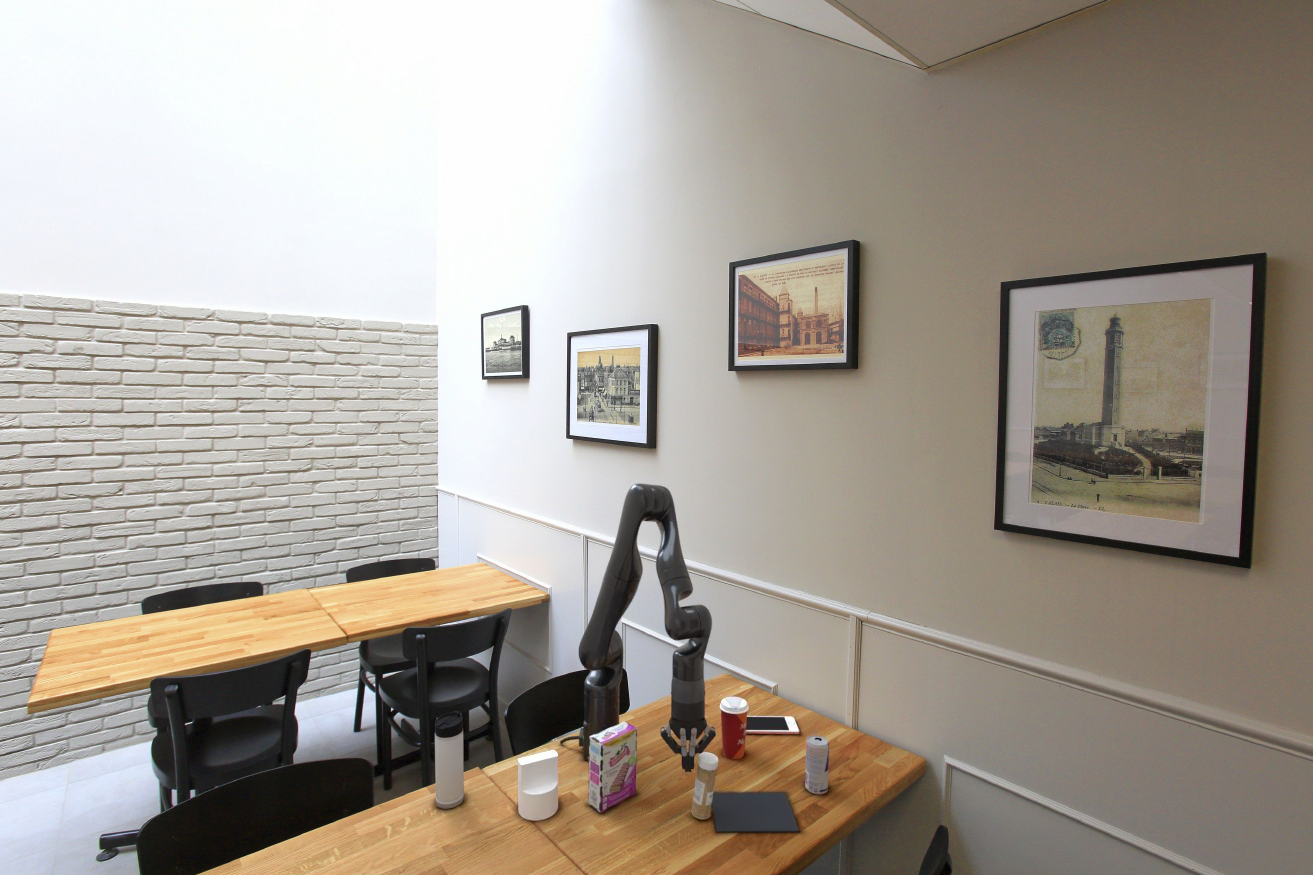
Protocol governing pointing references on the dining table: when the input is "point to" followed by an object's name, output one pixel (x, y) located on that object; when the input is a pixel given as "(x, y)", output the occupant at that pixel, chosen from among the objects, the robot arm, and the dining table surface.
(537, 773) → the base with upright slab
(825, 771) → the energy drink
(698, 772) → the sprinkles bottle
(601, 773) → the candy bar box
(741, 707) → the paper cup
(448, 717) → the travel mug
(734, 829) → the rubber mat
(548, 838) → the dining table surface
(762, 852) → the dining table surface
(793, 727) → the cell phone
